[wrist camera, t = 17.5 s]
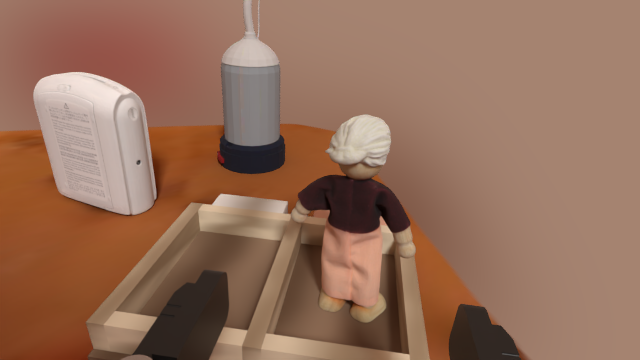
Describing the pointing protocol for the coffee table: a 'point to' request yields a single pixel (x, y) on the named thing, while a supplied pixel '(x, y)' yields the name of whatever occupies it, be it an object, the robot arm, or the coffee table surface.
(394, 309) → the wooden divided tray
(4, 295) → the coffee table surface
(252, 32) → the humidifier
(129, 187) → the photo printer
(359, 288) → the grandmother figurine
